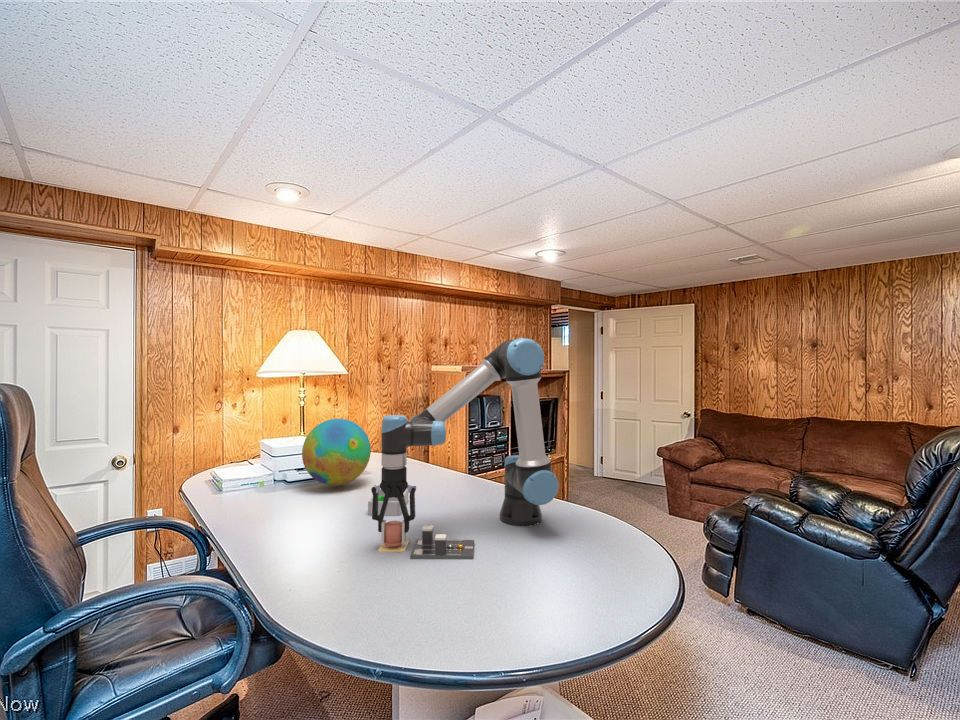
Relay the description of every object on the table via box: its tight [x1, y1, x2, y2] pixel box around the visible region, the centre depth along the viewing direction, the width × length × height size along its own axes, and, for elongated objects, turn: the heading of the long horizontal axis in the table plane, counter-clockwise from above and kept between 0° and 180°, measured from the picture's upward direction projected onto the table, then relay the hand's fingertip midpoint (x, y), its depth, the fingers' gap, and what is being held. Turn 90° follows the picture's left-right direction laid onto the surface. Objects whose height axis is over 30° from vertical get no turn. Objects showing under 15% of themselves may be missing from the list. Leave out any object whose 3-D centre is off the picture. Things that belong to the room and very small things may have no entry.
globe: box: [301, 418, 372, 487], centre depth 214 cm, size 30×30×30 cm
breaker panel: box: [409, 538, 475, 560], centre depth 139 cm, size 18×12×2 cm, turn 89°
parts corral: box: [367, 488, 409, 517], centre depth 181 cm, size 12×18×5 cm, turn 179°
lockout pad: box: [377, 540, 410, 553], centre depth 142 cm, size 8×8×1 cm
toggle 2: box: [434, 533, 447, 554], centre depth 136 cm, size 3×3×5 cm
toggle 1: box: [421, 525, 434, 544], centre depth 143 cm, size 3×3×5 cm
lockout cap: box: [384, 520, 403, 547], centre depth 142 cm, size 6×6×6 cm
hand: (393, 542), depth 142 cm, fingers closed on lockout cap, 5 cm apart
